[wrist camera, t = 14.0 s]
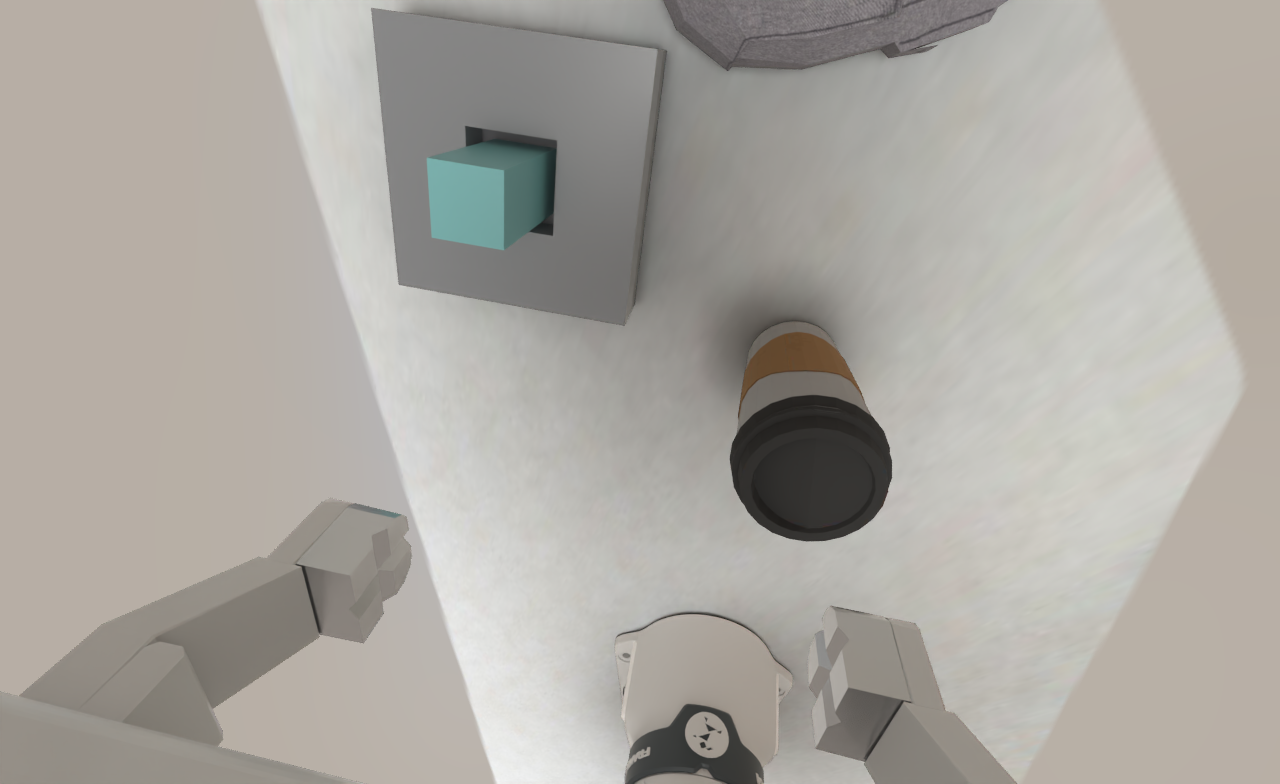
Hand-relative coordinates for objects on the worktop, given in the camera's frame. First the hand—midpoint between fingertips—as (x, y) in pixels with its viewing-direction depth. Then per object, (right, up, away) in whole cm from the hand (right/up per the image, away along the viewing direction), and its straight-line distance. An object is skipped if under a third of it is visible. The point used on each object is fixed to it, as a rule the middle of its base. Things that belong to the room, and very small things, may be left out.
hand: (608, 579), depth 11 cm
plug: (-7, +18, +26) cm, 32 cm away
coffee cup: (+12, +6, +31) cm, 34 cm away
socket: (-7, +18, +27) cm, 33 cm away
